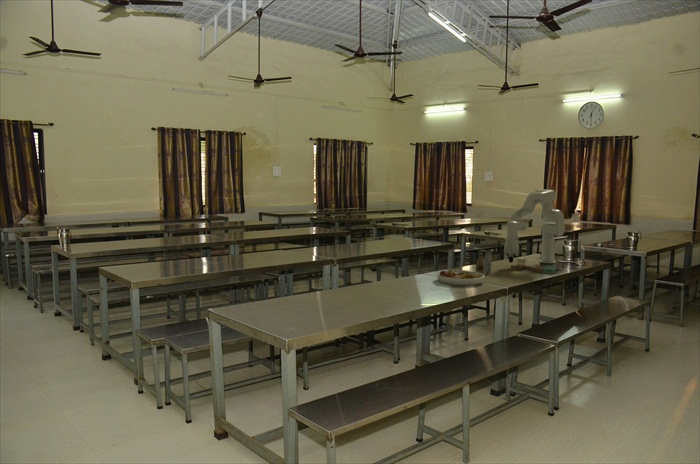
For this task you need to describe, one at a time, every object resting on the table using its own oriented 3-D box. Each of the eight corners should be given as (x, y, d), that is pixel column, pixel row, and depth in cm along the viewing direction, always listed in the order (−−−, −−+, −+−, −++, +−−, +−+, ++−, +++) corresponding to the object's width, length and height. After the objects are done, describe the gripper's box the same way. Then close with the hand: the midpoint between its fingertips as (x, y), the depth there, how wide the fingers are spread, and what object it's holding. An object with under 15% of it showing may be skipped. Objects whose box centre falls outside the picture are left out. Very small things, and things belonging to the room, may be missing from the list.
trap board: (515, 266, 402) (516, 262, 402) (556, 270, 388) (556, 266, 388) (510, 269, 388) (510, 265, 387) (552, 273, 373) (552, 269, 373)
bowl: (467, 276, 362) (467, 265, 361) (494, 285, 334) (494, 272, 333) (428, 279, 351) (428, 267, 350) (452, 288, 323) (453, 275, 322)
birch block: (518, 263, 395) (518, 257, 395) (525, 264, 393) (525, 257, 392) (516, 264, 391) (517, 258, 390) (523, 265, 388) (524, 258, 388)
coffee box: (475, 272, 376) (476, 249, 374) (482, 271, 378) (483, 249, 377) (483, 274, 368) (484, 251, 366) (491, 273, 370) (492, 251, 368)
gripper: (523, 238, 393) (522, 262, 395) (503, 236, 400) (502, 260, 402) (521, 239, 387) (520, 264, 389) (500, 237, 394) (499, 262, 396)
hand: (510, 262), depth 395 cm, fingers closed
